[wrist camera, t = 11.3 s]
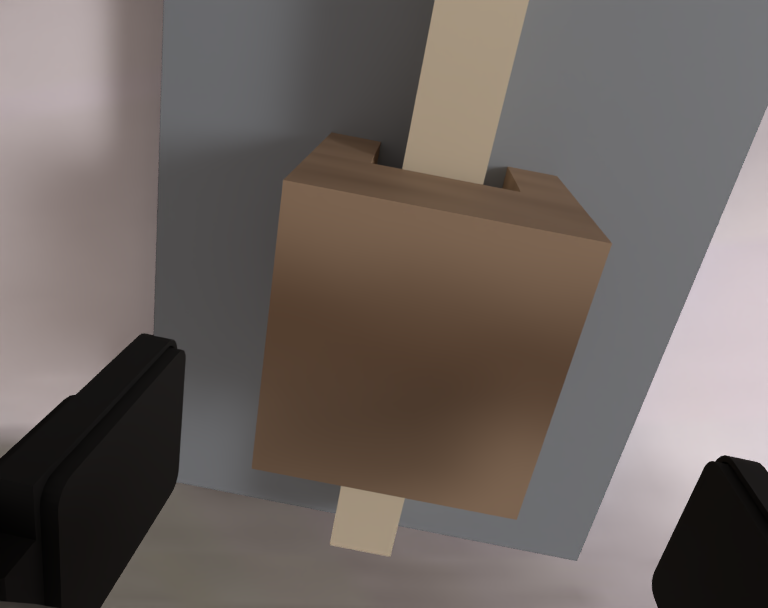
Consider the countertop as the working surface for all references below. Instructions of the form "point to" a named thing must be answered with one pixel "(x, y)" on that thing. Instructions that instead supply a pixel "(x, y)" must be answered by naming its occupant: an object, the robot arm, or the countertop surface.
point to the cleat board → (556, 119)
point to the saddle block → (420, 327)
